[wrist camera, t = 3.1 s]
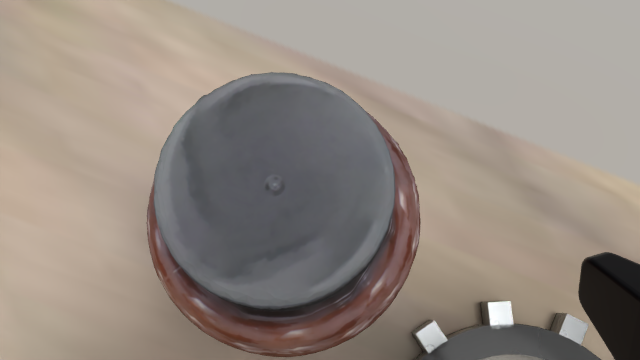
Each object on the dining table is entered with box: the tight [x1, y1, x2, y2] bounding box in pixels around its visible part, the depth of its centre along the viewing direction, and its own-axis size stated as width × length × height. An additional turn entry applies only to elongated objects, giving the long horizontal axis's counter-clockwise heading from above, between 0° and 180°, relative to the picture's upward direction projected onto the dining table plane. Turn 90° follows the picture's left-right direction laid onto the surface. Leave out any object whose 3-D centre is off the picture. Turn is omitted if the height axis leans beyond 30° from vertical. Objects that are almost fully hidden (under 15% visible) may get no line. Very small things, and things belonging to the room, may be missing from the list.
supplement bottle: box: [147, 72, 420, 357], centre depth 14 cm, size 6×6×11 cm
